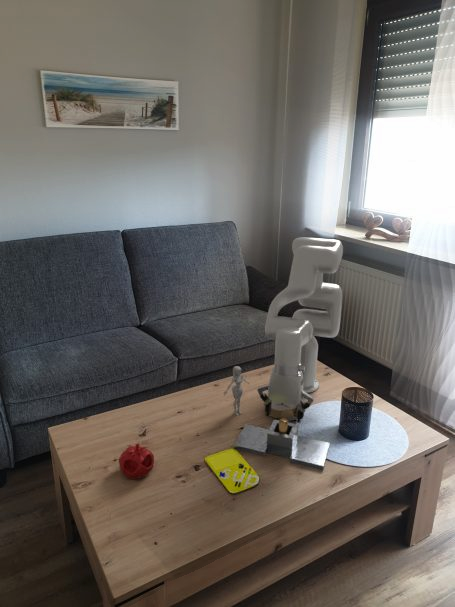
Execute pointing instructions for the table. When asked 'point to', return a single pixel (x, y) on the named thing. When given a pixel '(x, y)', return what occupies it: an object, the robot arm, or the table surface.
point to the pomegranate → (136, 461)
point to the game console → (232, 471)
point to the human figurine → (236, 387)
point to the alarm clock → (284, 411)
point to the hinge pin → (283, 426)
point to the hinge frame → (283, 444)
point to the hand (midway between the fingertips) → (283, 417)
